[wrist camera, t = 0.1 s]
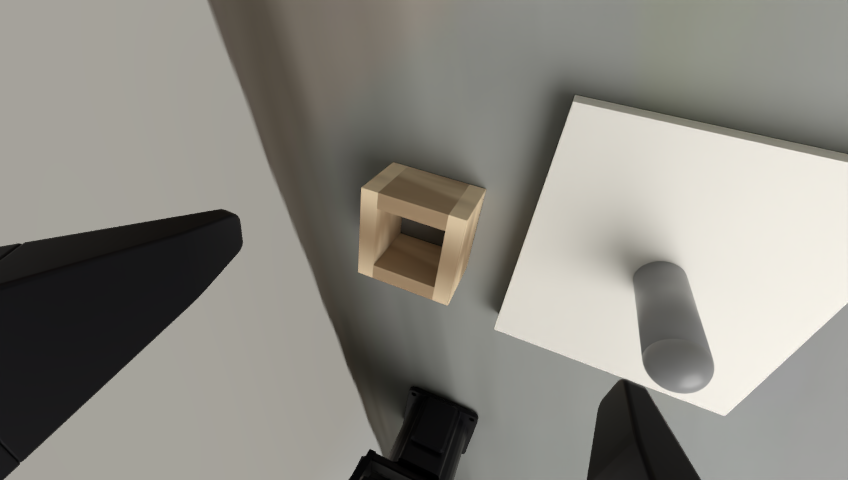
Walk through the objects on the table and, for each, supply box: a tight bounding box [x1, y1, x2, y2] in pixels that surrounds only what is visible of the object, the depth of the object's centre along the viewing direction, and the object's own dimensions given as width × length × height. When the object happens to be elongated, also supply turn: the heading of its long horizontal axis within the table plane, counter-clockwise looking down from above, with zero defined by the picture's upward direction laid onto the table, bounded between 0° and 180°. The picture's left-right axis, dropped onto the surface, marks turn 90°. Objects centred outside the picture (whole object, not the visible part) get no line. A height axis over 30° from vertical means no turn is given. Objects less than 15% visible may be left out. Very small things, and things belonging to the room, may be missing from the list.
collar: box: [358, 162, 486, 306], centre depth 23 cm, size 6×6×4 cm
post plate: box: [494, 95, 848, 416], centre depth 17 cm, size 15×14×8 cm
